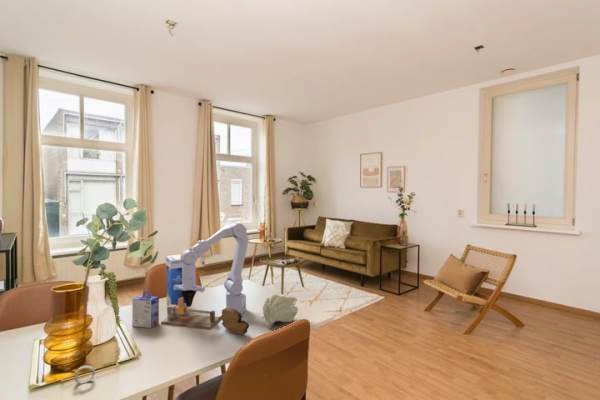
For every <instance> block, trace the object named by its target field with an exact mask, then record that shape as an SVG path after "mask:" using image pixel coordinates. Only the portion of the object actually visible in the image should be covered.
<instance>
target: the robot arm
mask: <svg viewBox="0 0 600 400" xmlns="http://www.w3.org/2000/svg"><path fill="white" fill-rule="evenodd" d="M225 237H233V238H234V240H236V247H235V251H234V255H233V259H232V260H233V261H232V264H231V269H230V273H229V274H228V275H227V278H226V280H225V281H224V284H223V286H224V289H226V292H225V308H227V309H228V308H233V309H235V310H236V311H238V312H240V313H241V315H243V313H244V312H245V311H246V310H247V295H246V294H245V293H242V292H243V288H244V287H243V277H242V272H243V267H244V263H245V260H246V259H245V258H246V254H247V249H248V246H249V236H248V231H247V228H246V227H245V225H244V224H243V223H238V222H236V221H230V222H229V223H228V224H225V225H224V226H223V227H221V228H220V229H219V230H217V232H215V233H214V234H212V235H211V236H210V237H209V238H207V239H201V240H200V239H199V240H198V241H197V242H196V243H195V244H194V245H193V246H189V247H188V249H186V250H184V251H183V252H181V254H180V255H181V256H180V258H181V260H182V261H183V262H182V285H174V290H183V291H182V292H181V295H182V296H183V298H184V300H185V302H186V306H187V308H191V307H192V306H193V301H194V298H195V296H196V293H197V292H200V293H204V292H205V289H206V286H202V285H197V283H196V281H197V280H196V279H197V277H196V263H197V261H198V259H199V258H200V257H202V256H203V255H204V254H205V253H207V252H209V251H210V250H211V247H212V245H214V244H216V243H218V242H219V241H220V240H222V239H223V238H225Z"/></svg>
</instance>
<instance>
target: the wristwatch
mask: <svg viewBox="0 0 600 400" xmlns="http://www.w3.org/2000/svg"><path fill="white" fill-rule="evenodd" d="M83 369H89V370H91V371H92V374H91V375H92V376H91V377H90V378H87V379H85V380H81V379H79V377H78V376H79V371H80V370H83ZM95 372H96V371H95V367H94V366H92V365H81V366H80V367H79V368H78V369H77V370H75V373H74V381H75V383H78V384H79V385H80V384H81V385H83V384H87V383H89V382H90V381H92V380H93V379H94V376H95Z"/></svg>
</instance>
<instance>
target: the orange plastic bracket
mask: <svg viewBox="0 0 600 400" xmlns="http://www.w3.org/2000/svg"><path fill="white" fill-rule="evenodd" d="M184 309H188V307H187V306H183V297H181V298H179V299H178V306H177V307H175V314H187V312H186V311H184Z"/></svg>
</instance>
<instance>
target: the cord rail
mask: <svg viewBox="0 0 600 400" xmlns="http://www.w3.org/2000/svg"><path fill="white" fill-rule="evenodd" d="M175 307H177V305H172V304H171V305H169V306H166V309H167V312H166V314H167V317H165V318H164V319H163V320H161V321H160V324H161V325H166V326H167V325H168V326H169V325H170V326H179V327H188V328H197V329H207V330H211V329H212V328H213V327H214V326H215V325H216V324H217V323H219V321H221V319H220V318H219V317H220V316H216V310H210V311H209V310H199V309H188V308H187V309H184V311H186V313H184V314H175ZM188 312H189V313H188ZM191 313H197V314H191ZM201 314H209V315H201Z"/></svg>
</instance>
